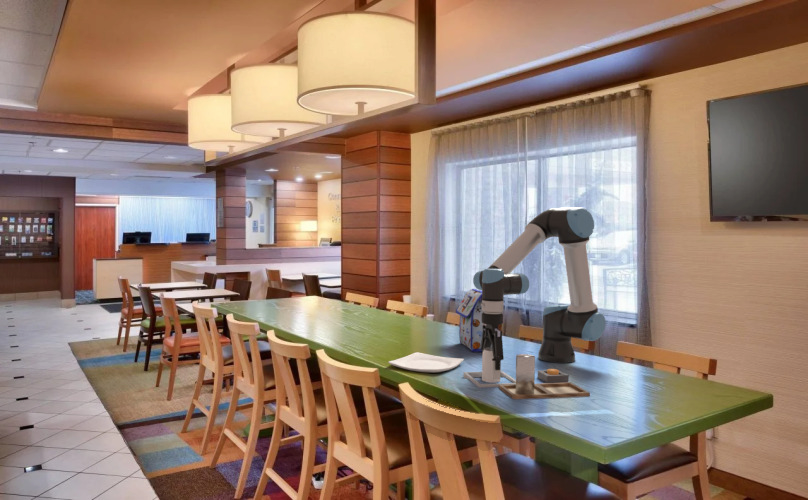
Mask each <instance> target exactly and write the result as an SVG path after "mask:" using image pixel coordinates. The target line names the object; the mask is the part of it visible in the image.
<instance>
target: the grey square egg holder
mask: <svg viewBox="0 0 808 500" xmlns="http://www.w3.org/2000/svg"><path fill="white" fill-rule="evenodd" d="M569 377H570V376H569V374H567V373H565V372H563V371H561V370H559V375H549V374H547V369H545V370H544V369H542V370H537V379H539V380H541V381H543V383H565V382H569Z"/></svg>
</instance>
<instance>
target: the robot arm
mask: <svg viewBox="0 0 808 500" xmlns="http://www.w3.org/2000/svg"><path fill="white" fill-rule="evenodd" d="M594 229H595V221H594V217H593V215H592V213H591V212H590V211H588V209H587V208H584V207H578V206H577V207H576V206H574V207H573V206H571V207H559V208H558V207H552V208H549V209H547V210H544V211H542V212H541V213H539V214H538V215H536V216H535V217H533V219H531V221H530V222H528V223H527V225H526V226H525V227H524V231H523V232H522V233H521V234H520V235H519V236H518V237H517V238H516V239H515V240H514V241H513V242H512V243H511V244H510V245H509V246H508V247H507V248H506V249H505V250H504V251H503V252H502V253H501V254H500V256H498V257H497V258H496V260H494V261H493V263H492V264H490V266H489V267H488V268H485V269H484V270H479V271H477V272H475V274H474V276H473V279H472V282H473V286H474V287H475V289H477V290H479V291H482V303H481V306H482V311H483V313H482V323H483V324H486V325H483V326H482V327H483V332H482V341H481V350H482V351H481V353H482V354H483V351H484V348H491V344H492V351H493V357H494V358H493V359H492V361H493V368H492V379H500V380H501V378H502V377H501V371H502V370H501V368H502V366H501V365H502V363H501V362H502V361H503V360H504V359H505V358H504V345H503V330H500V329H499V328H498V327H499V325H503V324H504V313H503V312H504V302H505V301H504V298H505V297H504V296H506V295H522V294H525V293H527V292H528V291H529V288H530V280H529V278H528V276H527V275H526V274H525V273H519V272H517V273H513V271H515V269H516V268H517V267H518V266H519V264H520V263H521V262H523V261H524V260H525V258H526V257H527V256H529V254H530V253H532V251H533V250H534V249H535V248H537V246H538V245H539V244H542V243H544V242H546V240H547V239H550V238H554V237H555V238H558V243H559V245H561V246H562V248H563V252H564V253H563V255H564V260H565V269H566V278H567V284H568V291H569V292H568V294H569V301H570V304H559V305H556V304H554V305H547V306H545V307H544V308H543V315H542V342H541V345H540V347H539V350H538V353H537V354H538V355H537V358H538V359H539V360H541V361H544V362H549V363H559V364H561V363H564V364H566V363H567V364H568V363H572V362H573V363H574V362H575V361H576V354H575V350H574V347H573V344H572V338H573V339H577V340H582V341H587V342H588V341H590V342H595V341H597V340H599V339H601V337H602V336H603V333H604V332H605V329H606V326H607V325H606V321H607V320H606V317H605V315H604V314H603V313H601V312H599V310H598V305H597V303H594V301H593V294H592V293H593V292H592V285H591V278H590V277H591V275H590V269H589V261H588V260H589V259H588V251H587V250H588V249H587V243H588V242H589V241H590V236H592V234H593V233H594Z"/></svg>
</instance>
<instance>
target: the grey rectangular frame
mask: <svg viewBox="0 0 808 500" xmlns="http://www.w3.org/2000/svg"><path fill="white" fill-rule="evenodd" d="M462 376H463V378H464V379H466V380H467V379H468V380H469V381H471V382H472V383H473V384H474V385H475V386H476V387H478V388H479V389H480V388H499V385H513V384H516V378H513V377H512V376H511V375H509V374H507V372H504V370H501V378H506V379H507V380H509V381H510V382H508V383H507V382H506V383H503V382H502V383H501V382H500V383H480V381H477V380H476V379H475V378H482V371H463V375H462Z"/></svg>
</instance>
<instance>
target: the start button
mask: <svg viewBox="0 0 808 500" xmlns="http://www.w3.org/2000/svg"><path fill="white" fill-rule="evenodd" d="M546 370H547V374H549V375H559V371H560V370H559V369H556V368H548V369H546Z"/></svg>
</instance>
